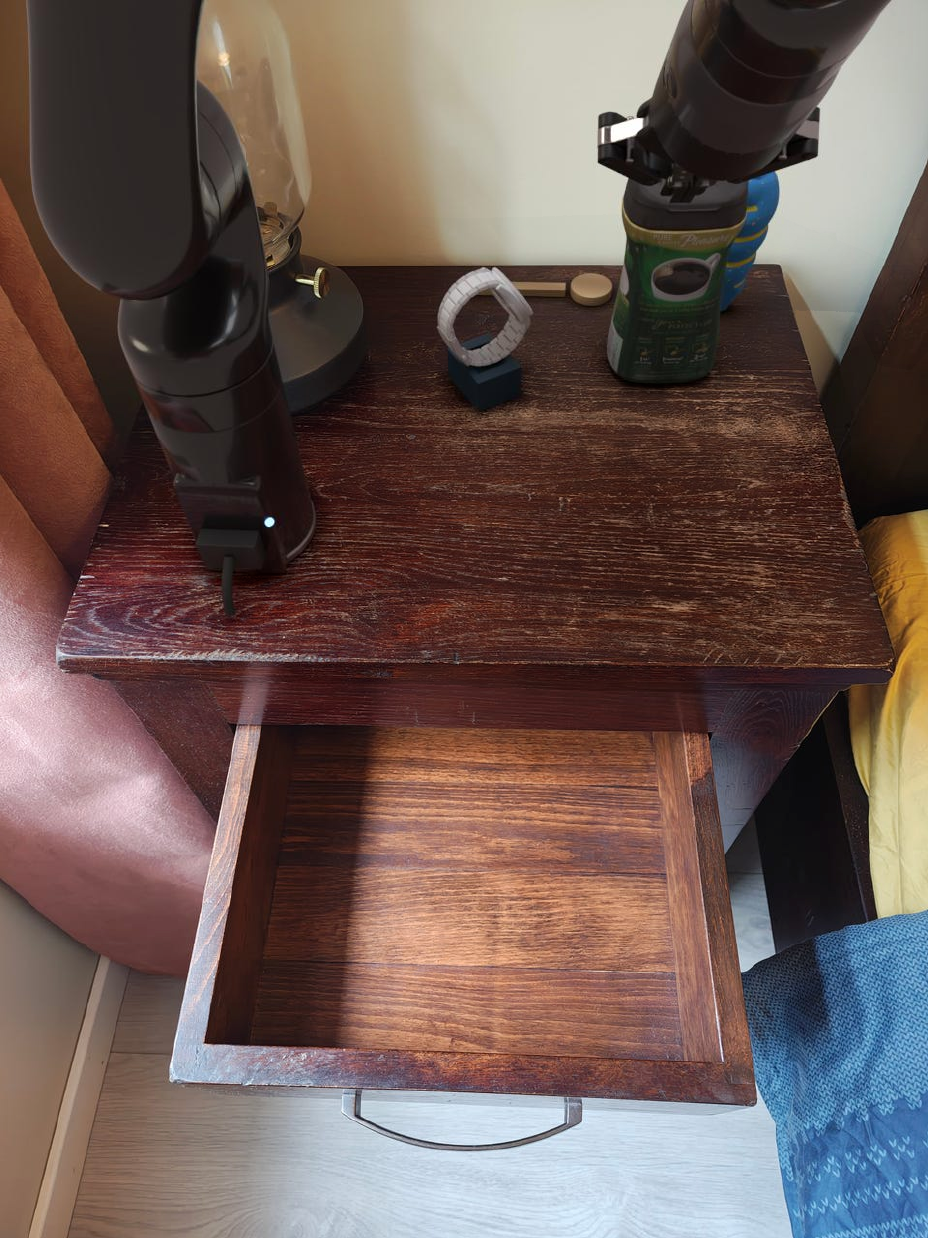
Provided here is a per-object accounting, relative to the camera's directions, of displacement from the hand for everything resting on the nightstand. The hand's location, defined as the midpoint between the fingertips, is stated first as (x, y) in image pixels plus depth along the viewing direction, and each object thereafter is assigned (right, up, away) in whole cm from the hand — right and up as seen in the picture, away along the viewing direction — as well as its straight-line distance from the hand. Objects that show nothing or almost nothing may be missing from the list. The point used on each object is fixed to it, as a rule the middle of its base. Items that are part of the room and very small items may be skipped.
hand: (678, 187), depth 60 cm
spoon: (-6, +4, +30) cm, 31 cm away
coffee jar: (+4, -5, +23) cm, 24 cm away
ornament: (+11, +1, +28) cm, 30 cm away
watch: (-12, -8, +22) cm, 26 cm away
